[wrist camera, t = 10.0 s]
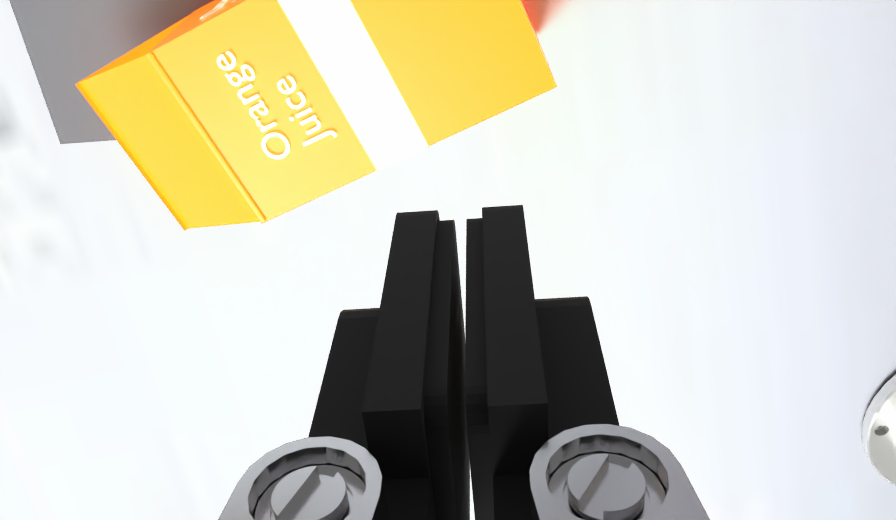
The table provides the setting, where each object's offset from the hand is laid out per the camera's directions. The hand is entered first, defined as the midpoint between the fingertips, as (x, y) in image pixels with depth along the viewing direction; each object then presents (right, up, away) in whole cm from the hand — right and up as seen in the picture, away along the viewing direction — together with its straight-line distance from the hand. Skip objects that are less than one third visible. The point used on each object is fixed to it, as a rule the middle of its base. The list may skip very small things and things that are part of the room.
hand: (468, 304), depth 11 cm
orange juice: (+3, +13, +24) cm, 27 cm away
